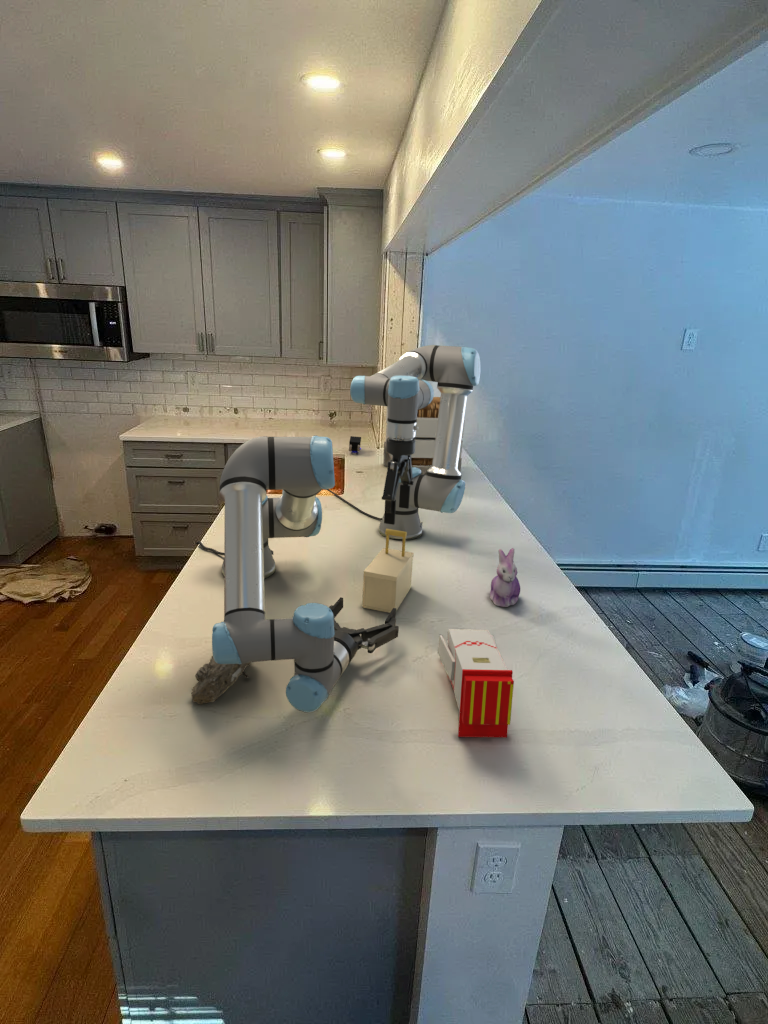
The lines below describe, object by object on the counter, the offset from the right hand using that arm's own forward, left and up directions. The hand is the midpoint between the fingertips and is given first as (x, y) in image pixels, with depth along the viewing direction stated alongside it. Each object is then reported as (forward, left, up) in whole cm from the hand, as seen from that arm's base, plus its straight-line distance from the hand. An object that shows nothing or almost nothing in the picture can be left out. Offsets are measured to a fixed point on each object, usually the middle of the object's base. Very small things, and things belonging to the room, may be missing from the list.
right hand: (396, 515), depth 153 cm
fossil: (+9, -54, -22) cm, 59 cm away
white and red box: (+44, -18, -22) cm, 52 cm away
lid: (+2, -4, -13) cm, 14 cm away
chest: (+3, -4, -22) cm, 23 cm away
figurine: (+23, +21, -22) cm, 38 cm away
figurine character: (-132, +89, -22) cm, 161 cm away
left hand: (+12, -19, -16) cm, 28 cm away
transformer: (-83, +90, -22) cm, 124 cm away
